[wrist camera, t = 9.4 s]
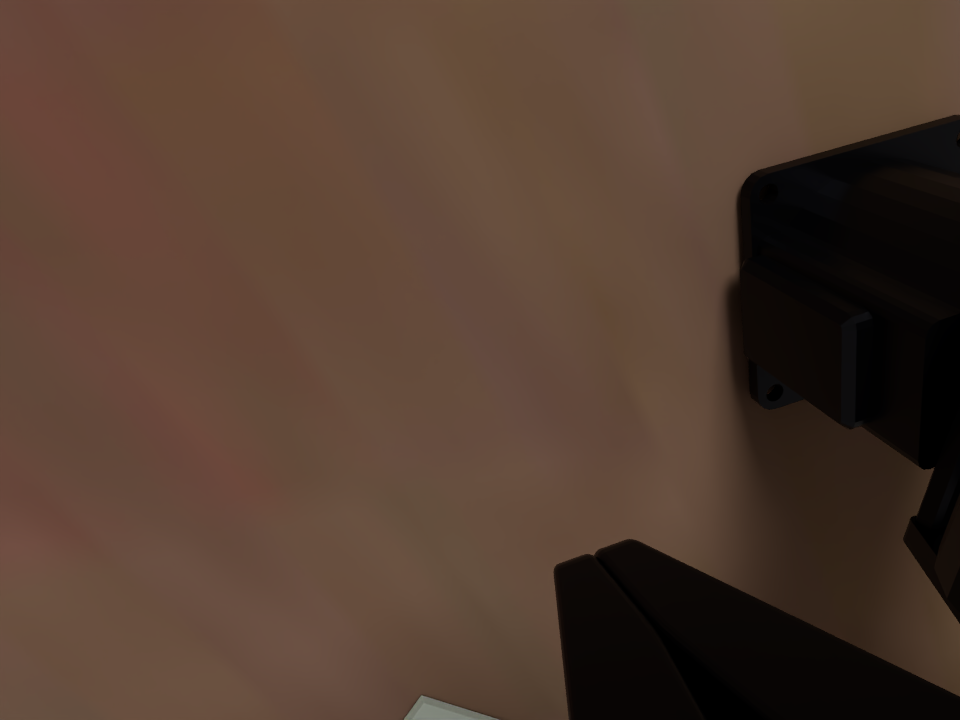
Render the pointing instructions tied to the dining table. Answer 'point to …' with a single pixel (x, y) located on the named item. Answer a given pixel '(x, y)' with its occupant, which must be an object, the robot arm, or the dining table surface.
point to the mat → (441, 711)
